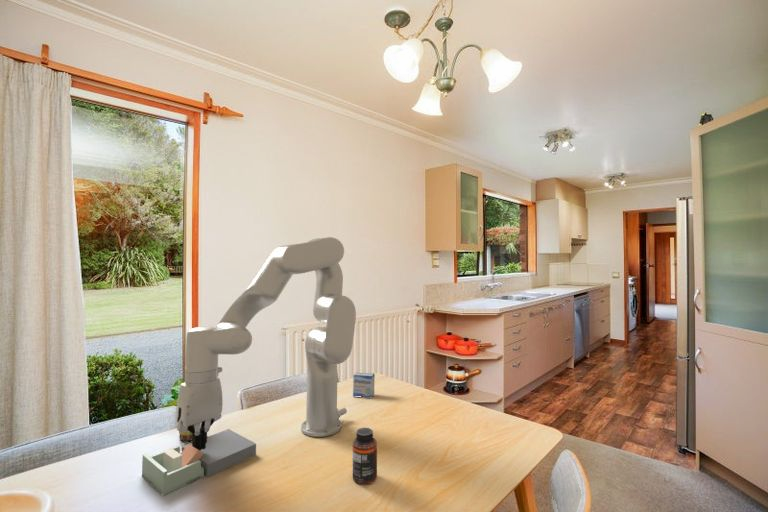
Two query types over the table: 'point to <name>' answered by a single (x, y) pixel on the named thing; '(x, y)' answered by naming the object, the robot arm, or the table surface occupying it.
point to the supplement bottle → (364, 457)
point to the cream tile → (172, 460)
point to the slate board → (225, 451)
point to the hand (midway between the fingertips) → (199, 448)
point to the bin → (172, 480)
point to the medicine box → (363, 384)
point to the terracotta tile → (190, 455)
